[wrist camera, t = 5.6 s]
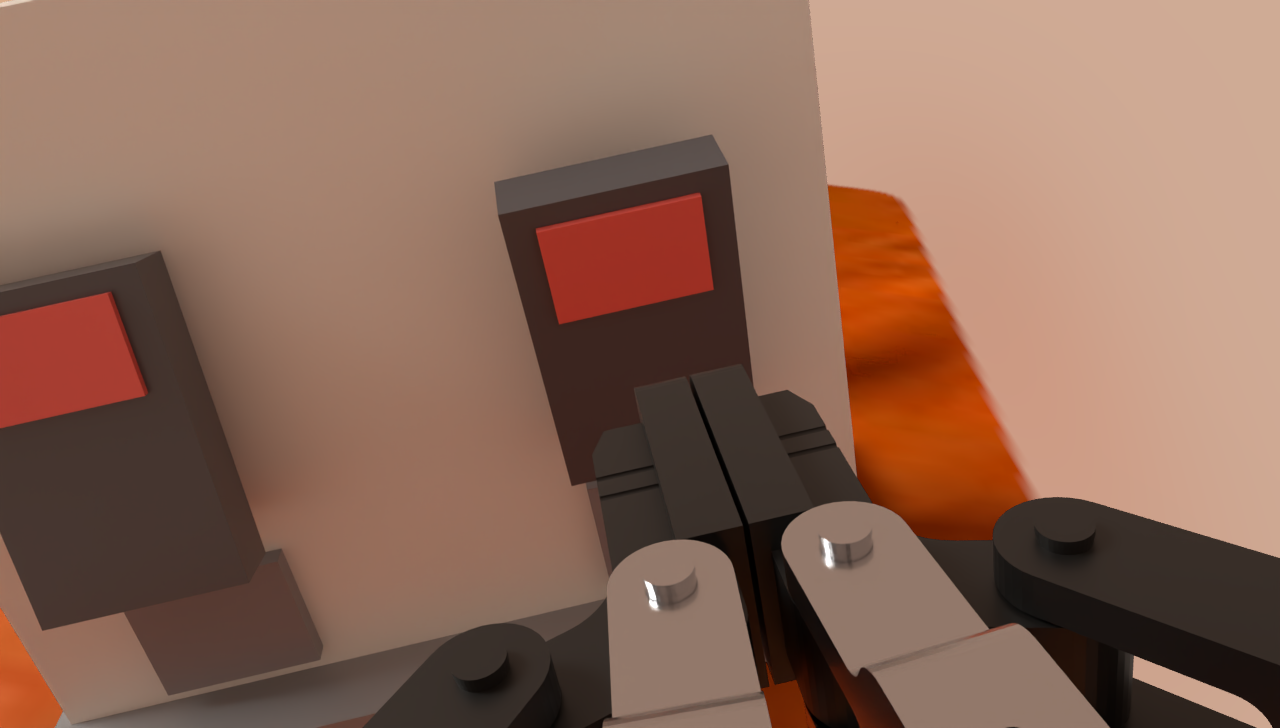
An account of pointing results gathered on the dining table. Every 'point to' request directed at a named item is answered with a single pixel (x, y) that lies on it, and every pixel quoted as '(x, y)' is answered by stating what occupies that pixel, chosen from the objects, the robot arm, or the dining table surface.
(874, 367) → the dining table surface
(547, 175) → the rocker outlet
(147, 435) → the rocker outlet
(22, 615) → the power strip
